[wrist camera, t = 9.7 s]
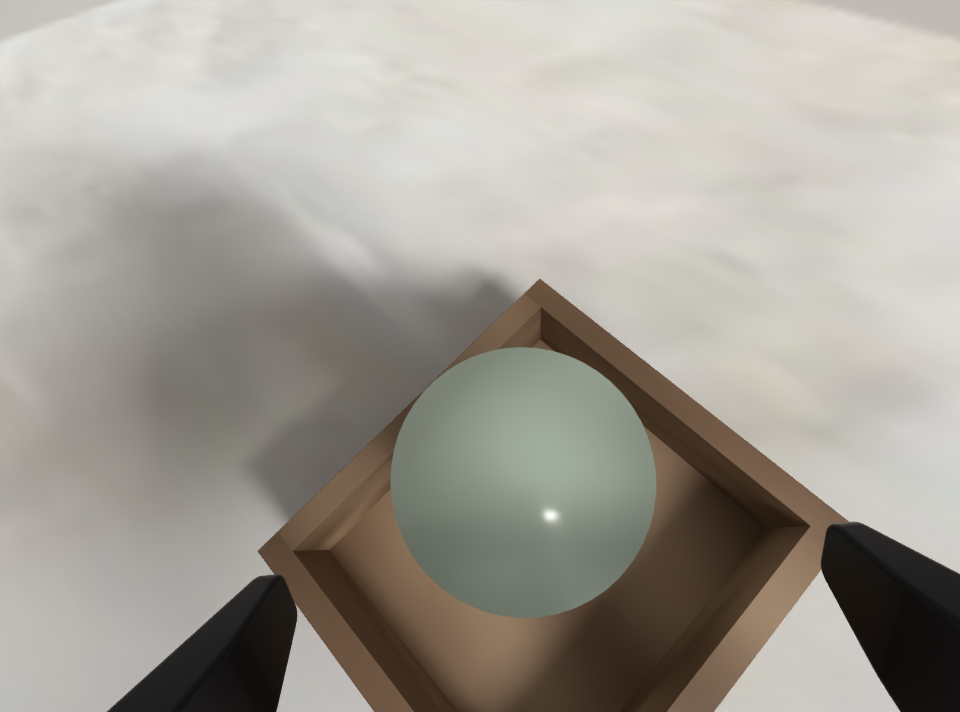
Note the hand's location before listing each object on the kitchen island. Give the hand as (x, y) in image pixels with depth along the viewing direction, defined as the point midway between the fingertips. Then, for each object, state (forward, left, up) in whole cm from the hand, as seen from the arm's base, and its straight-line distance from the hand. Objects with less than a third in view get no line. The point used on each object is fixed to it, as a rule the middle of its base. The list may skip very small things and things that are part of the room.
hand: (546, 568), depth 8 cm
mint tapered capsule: (+1, +1, -9) cm, 9 cm away
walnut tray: (0, 0, -10) cm, 10 cm away
